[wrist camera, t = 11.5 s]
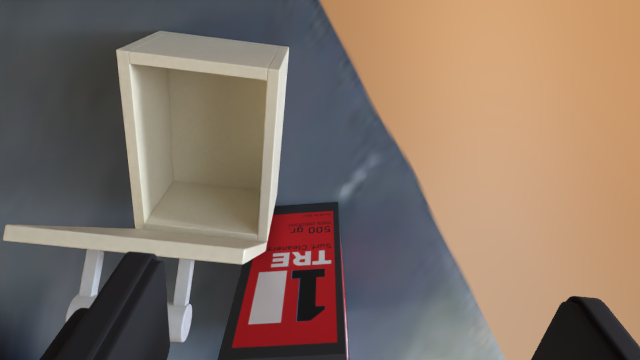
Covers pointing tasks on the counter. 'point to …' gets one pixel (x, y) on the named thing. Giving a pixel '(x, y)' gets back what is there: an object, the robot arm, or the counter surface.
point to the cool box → (203, 133)
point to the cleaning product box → (292, 292)
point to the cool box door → (139, 241)
